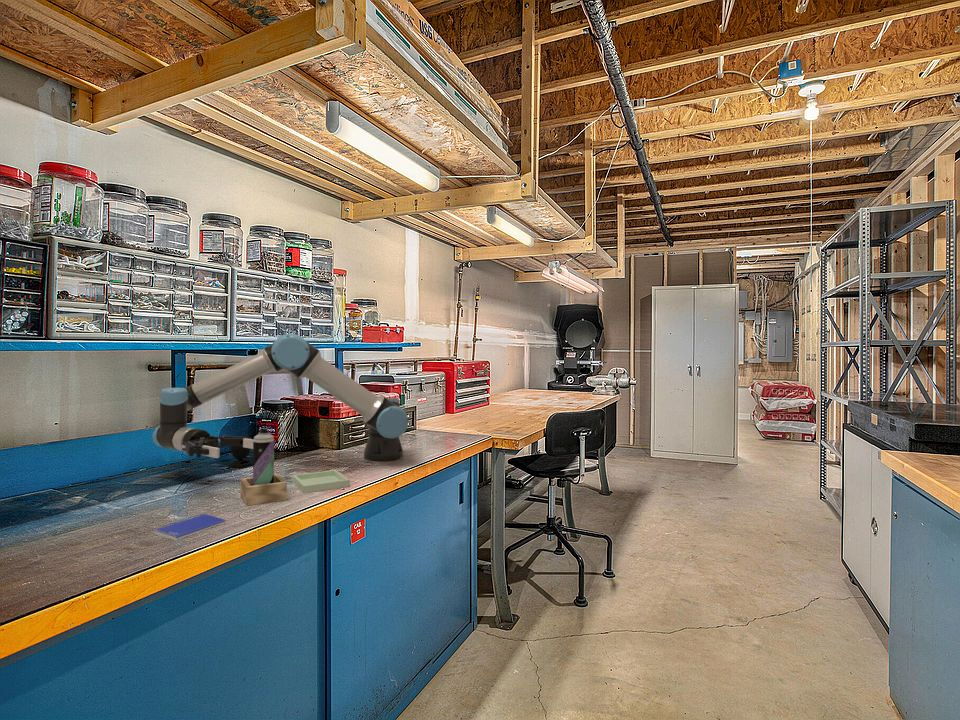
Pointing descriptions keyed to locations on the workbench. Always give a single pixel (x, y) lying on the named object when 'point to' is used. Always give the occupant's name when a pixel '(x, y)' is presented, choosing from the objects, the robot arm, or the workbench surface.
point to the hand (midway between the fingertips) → (239, 449)
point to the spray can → (263, 458)
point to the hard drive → (188, 527)
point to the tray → (320, 481)
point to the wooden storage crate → (263, 491)
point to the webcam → (240, 457)
